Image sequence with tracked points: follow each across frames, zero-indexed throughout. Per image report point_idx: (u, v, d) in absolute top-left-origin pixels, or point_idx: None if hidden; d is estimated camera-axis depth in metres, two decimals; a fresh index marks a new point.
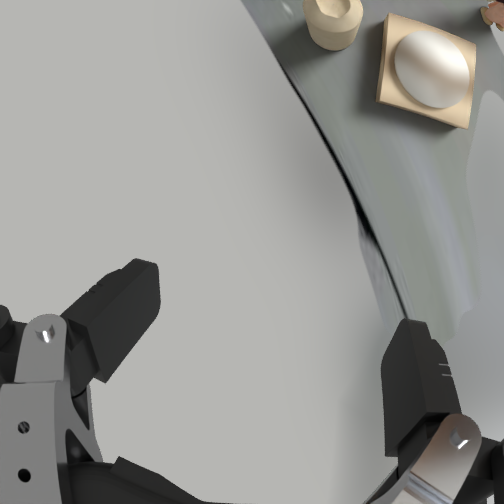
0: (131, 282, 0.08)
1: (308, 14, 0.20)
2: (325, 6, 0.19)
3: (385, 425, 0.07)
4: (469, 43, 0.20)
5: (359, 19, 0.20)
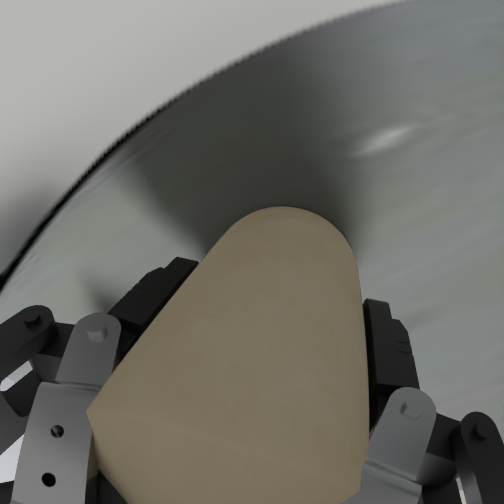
0: (178, 280, 0.08)
1: (114, 437, 0.03)
2: None
3: None
4: None
5: None
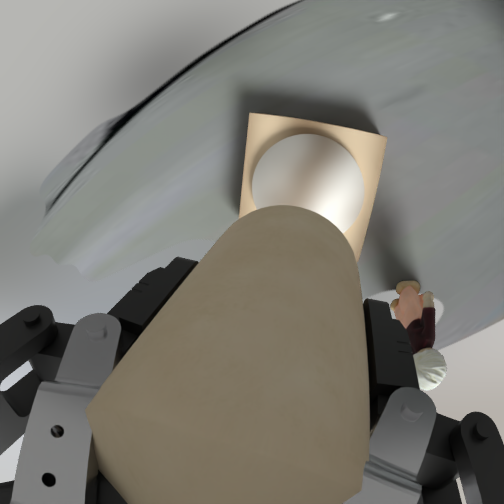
0: (179, 280, 0.08)
1: (113, 434, 0.03)
2: None
3: None
4: (358, 251, 0.25)
5: None
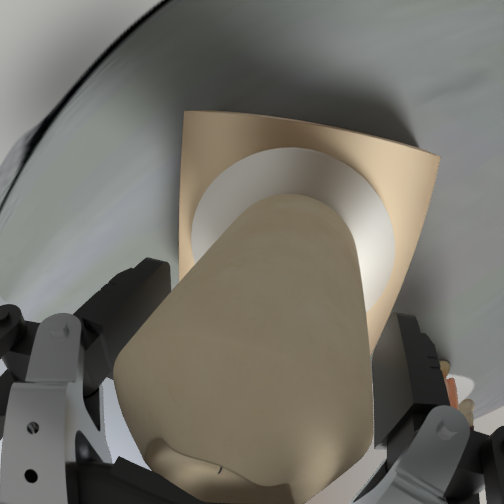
0: (144, 281, 0.08)
1: (155, 359, 0.04)
2: None
3: (375, 417, 0.07)
4: (371, 344, 0.15)
5: None
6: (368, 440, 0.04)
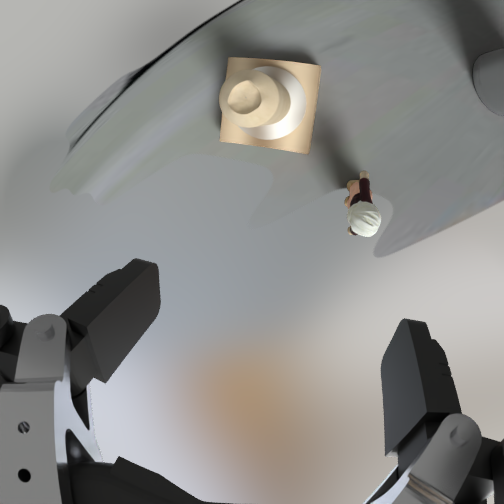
0: (131, 282, 0.08)
1: (235, 75, 0.23)
2: (243, 90, 0.24)
3: (385, 425, 0.07)
4: (307, 146, 0.34)
5: (236, 123, 0.26)
6: (277, 91, 0.23)
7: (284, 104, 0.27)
